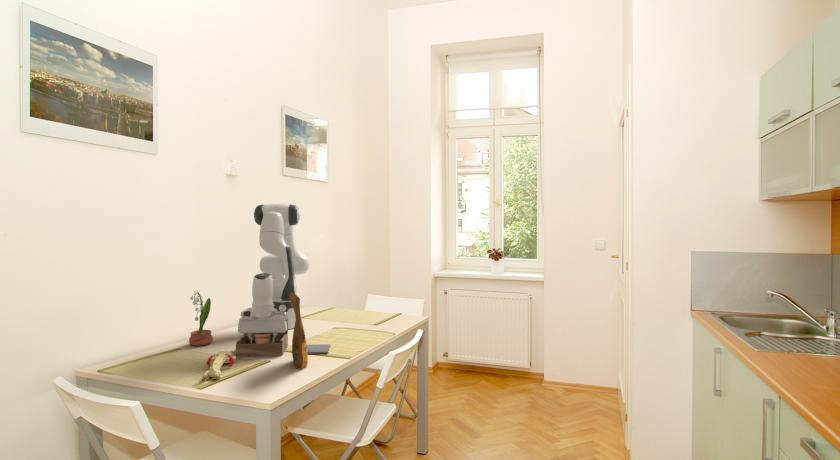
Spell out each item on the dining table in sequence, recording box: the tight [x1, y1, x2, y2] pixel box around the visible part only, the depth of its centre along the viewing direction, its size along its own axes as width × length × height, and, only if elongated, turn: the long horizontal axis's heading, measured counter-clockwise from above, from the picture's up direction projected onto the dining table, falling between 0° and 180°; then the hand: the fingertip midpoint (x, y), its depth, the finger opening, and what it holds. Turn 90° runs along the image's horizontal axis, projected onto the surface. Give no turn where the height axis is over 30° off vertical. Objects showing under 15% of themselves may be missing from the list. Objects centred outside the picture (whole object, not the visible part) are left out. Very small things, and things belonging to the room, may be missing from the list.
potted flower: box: [188, 290, 214, 347], centre depth 214 cm, size 12×10×25 cm
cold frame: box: [235, 318, 289, 358], centre depth 204 cm, size 14×19×13 cm
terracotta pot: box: [254, 333, 271, 344], centre depth 204 cm, size 7×7×8 cm
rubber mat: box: [307, 343, 331, 355], centre depth 207 cm, size 12×11×1 cm
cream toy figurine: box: [201, 350, 237, 381], centre depth 178 cm, size 10×9×25 cm
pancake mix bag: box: [289, 292, 309, 370], centre depth 187 cm, size 7×19×28 cm, turn 17°
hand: (262, 342), depth 204 cm, fingers open, 7 cm apart
